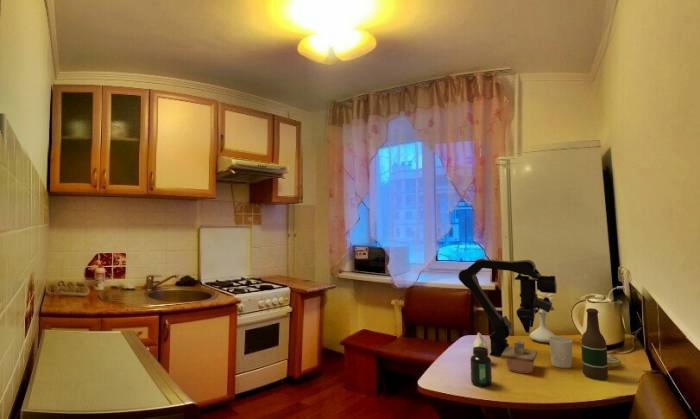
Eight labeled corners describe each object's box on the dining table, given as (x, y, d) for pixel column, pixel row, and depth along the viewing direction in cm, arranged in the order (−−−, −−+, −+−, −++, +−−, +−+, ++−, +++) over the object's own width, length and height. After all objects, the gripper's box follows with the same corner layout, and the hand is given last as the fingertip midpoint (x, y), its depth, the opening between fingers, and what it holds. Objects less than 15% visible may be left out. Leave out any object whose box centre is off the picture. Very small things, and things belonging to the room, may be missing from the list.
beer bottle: (577, 372, 139) (574, 307, 140) (597, 371, 139) (594, 306, 140) (592, 381, 131) (589, 312, 132) (613, 380, 132) (610, 311, 133)
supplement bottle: (486, 389, 126) (485, 353, 127) (467, 384, 131) (466, 349, 131) (495, 383, 131) (493, 348, 132) (476, 377, 136) (475, 344, 136)
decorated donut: (624, 365, 145) (623, 355, 145) (616, 373, 138) (616, 362, 138) (593, 358, 153) (593, 348, 153) (584, 365, 146) (584, 355, 146)
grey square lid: (501, 357, 142) (500, 343, 142) (507, 348, 151) (506, 336, 152) (533, 362, 136) (532, 348, 136) (537, 353, 145) (537, 340, 145)
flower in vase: (524, 338, 180) (522, 285, 181) (544, 336, 183) (542, 284, 183) (544, 347, 167) (542, 290, 168) (565, 344, 170) (563, 289, 171)
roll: (487, 335, 146) (472, 334, 148) (488, 366, 146) (473, 365, 148) (487, 331, 152) (472, 330, 154) (488, 361, 151) (473, 359, 153)
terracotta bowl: (505, 370, 142) (504, 356, 142) (509, 362, 150) (509, 349, 150) (531, 375, 137) (530, 361, 137) (534, 366, 145) (534, 353, 145)
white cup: (576, 369, 142) (575, 342, 142) (553, 368, 143) (552, 341, 144) (568, 361, 149) (567, 336, 150) (547, 360, 151) (546, 335, 151)
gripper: (547, 297, 141) (549, 339, 141) (552, 289, 157) (554, 327, 156) (515, 294, 147) (517, 334, 147) (523, 287, 163) (524, 323, 162)
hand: (529, 329), depth 153 cm, fingers open, 9 cm apart
